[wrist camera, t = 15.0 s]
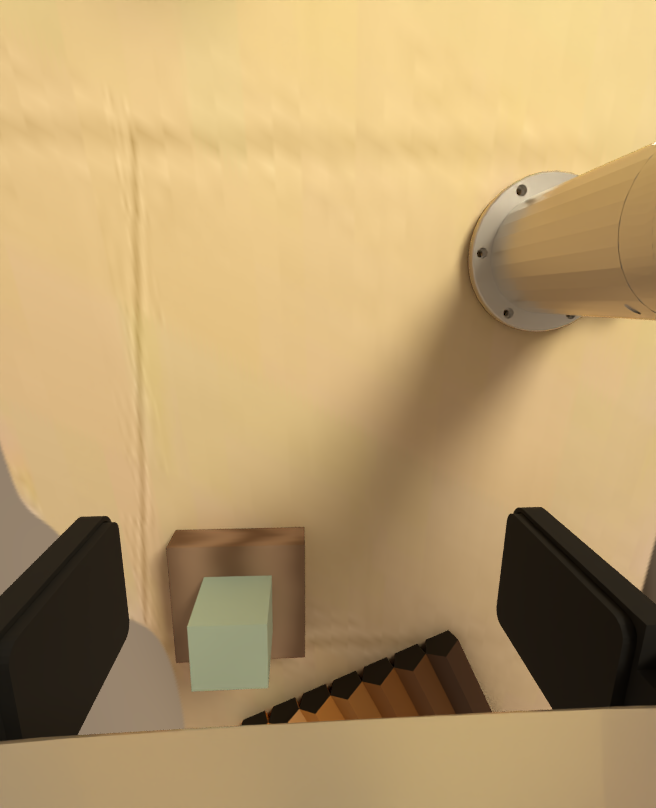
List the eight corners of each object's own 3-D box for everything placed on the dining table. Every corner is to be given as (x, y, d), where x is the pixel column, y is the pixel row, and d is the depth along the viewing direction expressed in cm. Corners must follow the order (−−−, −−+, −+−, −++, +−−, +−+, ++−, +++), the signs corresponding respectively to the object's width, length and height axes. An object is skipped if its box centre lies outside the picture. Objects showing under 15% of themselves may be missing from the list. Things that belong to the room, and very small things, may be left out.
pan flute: (524, 781, 52) (450, 624, 46) (539, 813, 48) (462, 649, 42) (335, 860, 53) (239, 717, 47) (338, 897, 49) (235, 748, 43)
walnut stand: (304, 527, 41) (304, 544, 38) (304, 633, 44) (304, 657, 41) (175, 530, 40) (166, 548, 38) (184, 638, 43) (176, 662, 40)
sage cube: (271, 575, 39) (266, 624, 33) (272, 631, 40) (268, 688, 34) (204, 577, 38) (187, 626, 33) (207, 634, 40) (191, 691, 34)
